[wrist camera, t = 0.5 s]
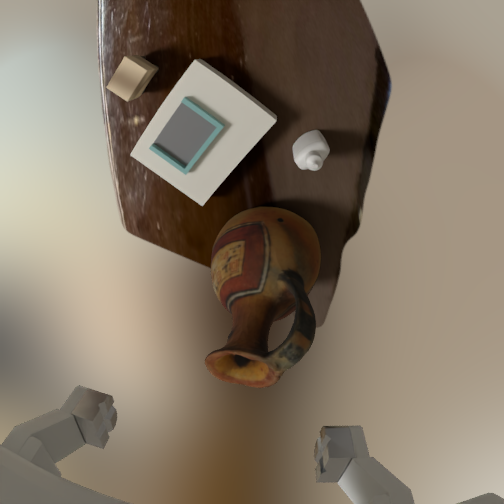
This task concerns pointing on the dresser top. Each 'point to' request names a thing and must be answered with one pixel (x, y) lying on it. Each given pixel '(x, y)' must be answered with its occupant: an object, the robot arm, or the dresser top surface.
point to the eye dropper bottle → (310, 150)
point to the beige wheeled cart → (132, 77)
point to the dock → (202, 131)
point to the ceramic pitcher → (264, 292)
